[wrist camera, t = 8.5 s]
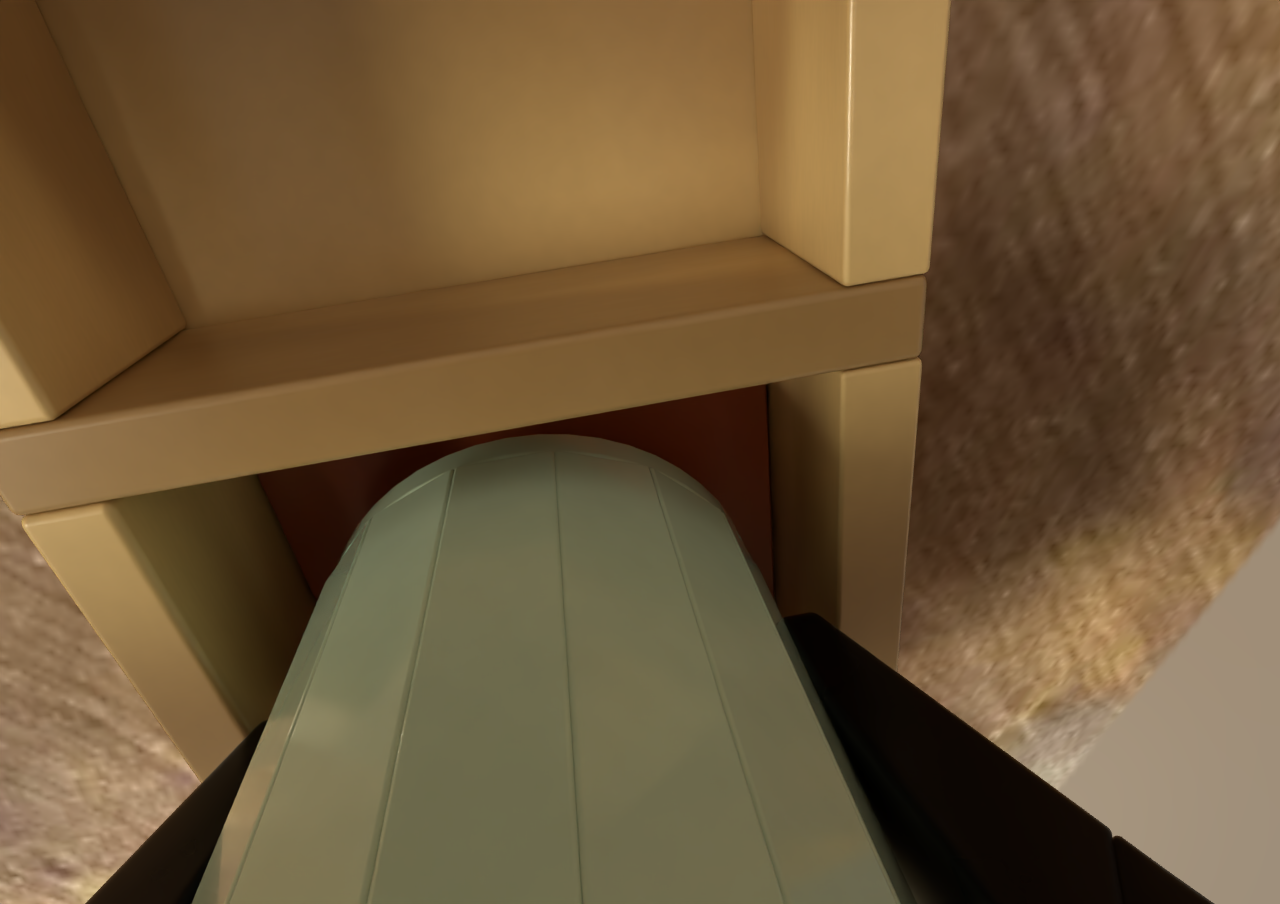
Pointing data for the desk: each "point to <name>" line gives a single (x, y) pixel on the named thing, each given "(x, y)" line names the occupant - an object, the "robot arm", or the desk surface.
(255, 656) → the rack
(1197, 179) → the desk surface
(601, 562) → the cup
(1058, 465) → the desk surface
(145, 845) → the robot arm
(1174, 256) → the desk surface
